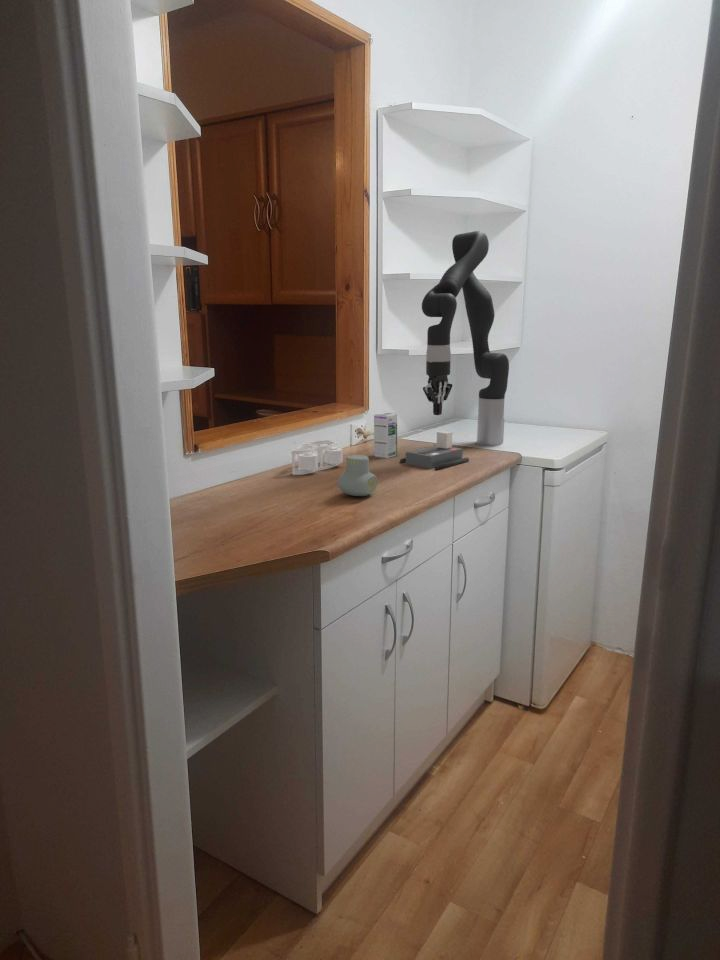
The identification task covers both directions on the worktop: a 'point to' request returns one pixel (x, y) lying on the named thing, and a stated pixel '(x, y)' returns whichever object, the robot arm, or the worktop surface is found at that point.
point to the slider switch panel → (444, 463)
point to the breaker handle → (444, 439)
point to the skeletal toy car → (316, 457)
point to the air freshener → (357, 477)
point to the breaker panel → (433, 456)
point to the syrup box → (385, 435)
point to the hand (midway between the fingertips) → (437, 414)
